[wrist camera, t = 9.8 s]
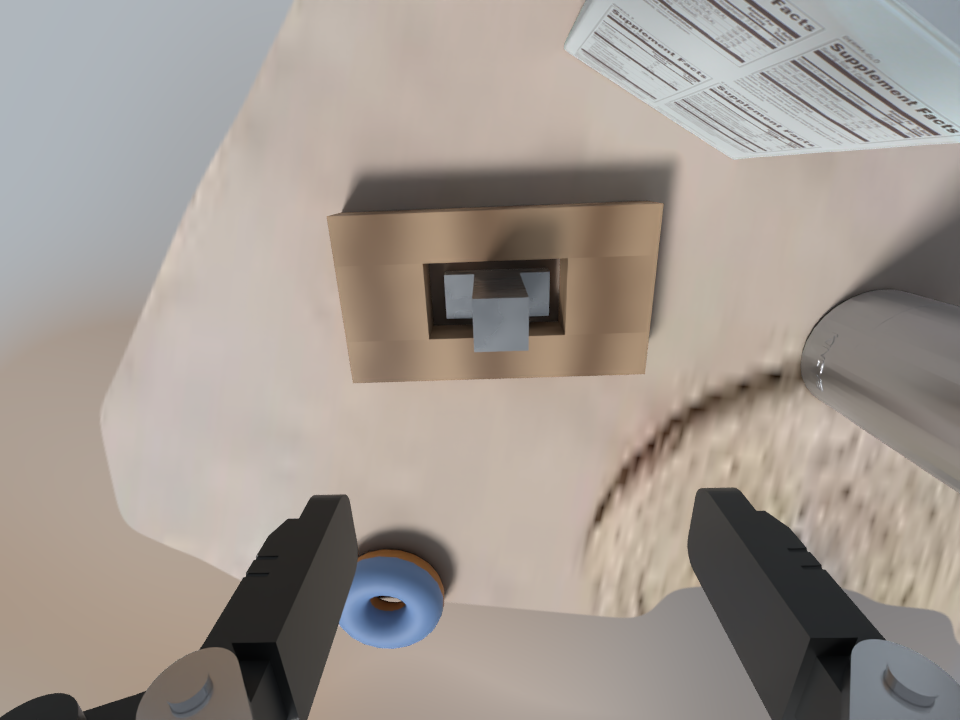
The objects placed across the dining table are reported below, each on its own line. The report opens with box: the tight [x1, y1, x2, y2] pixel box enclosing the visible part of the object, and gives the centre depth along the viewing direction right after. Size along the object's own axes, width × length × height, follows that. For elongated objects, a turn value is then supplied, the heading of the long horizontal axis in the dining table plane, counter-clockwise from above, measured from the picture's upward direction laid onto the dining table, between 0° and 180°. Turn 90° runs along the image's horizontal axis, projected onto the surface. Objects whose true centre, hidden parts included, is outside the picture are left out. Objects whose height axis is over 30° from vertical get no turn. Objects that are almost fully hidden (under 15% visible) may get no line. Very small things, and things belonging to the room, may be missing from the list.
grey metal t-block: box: [444, 268, 550, 352], centre depth 28 cm, size 7×3×8 cm, turn 92°
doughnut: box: [339, 549, 444, 649], centre depth 41 cm, size 10×10×5 cm
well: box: [327, 201, 664, 383], centre depth 30 cm, size 20×11×3 cm, turn 92°
